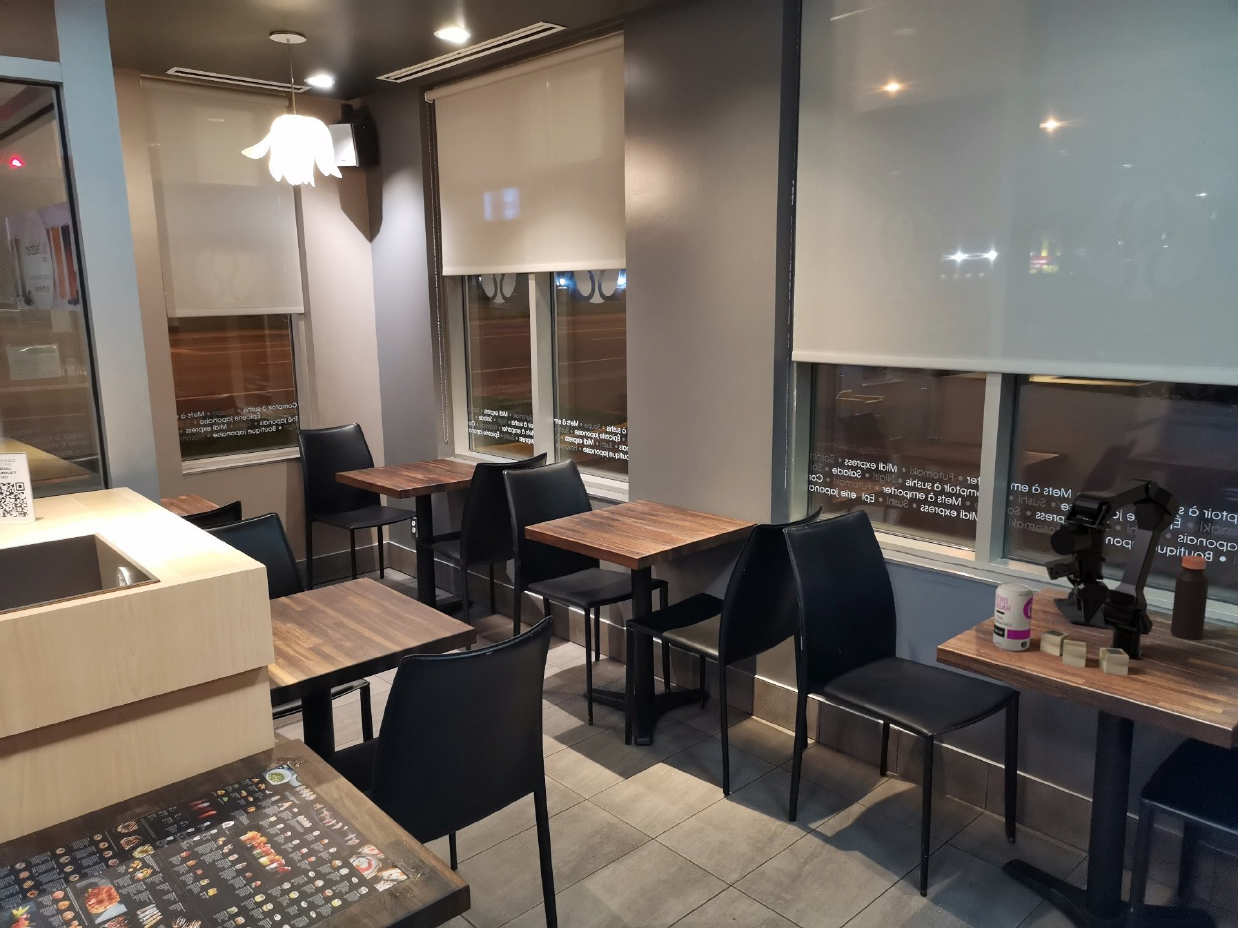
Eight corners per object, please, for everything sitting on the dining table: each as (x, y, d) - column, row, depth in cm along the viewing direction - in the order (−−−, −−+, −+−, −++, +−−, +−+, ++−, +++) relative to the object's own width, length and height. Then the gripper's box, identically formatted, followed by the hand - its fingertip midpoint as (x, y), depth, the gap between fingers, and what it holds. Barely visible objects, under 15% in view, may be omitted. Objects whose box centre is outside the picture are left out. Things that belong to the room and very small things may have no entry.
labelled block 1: (1048, 646, 210) (1050, 627, 210) (1067, 651, 207) (1069, 633, 206) (1040, 650, 208) (1041, 632, 207) (1059, 656, 204) (1060, 637, 203)
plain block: (1062, 657, 203) (1063, 639, 203) (1084, 660, 201) (1085, 642, 201) (1062, 664, 199) (1064, 646, 199) (1084, 667, 197) (1086, 649, 197)
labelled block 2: (1098, 666, 198) (1100, 646, 198) (1119, 667, 197) (1121, 648, 197) (1105, 673, 194) (1107, 654, 193) (1127, 675, 193) (1129, 655, 192)
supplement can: (1033, 645, 211) (1038, 586, 208) (1022, 654, 205) (1026, 594, 203) (999, 637, 216) (1003, 579, 214) (987, 646, 211) (991, 587, 208)
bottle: (1197, 642, 212) (1206, 563, 208) (1166, 634, 217) (1174, 558, 213) (1206, 635, 216) (1214, 558, 213) (1175, 628, 221) (1183, 552, 218)
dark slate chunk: (1057, 625, 225) (1058, 608, 224) (1052, 600, 245) (1054, 584, 244) (1124, 633, 219) (1126, 616, 218) (1114, 607, 239) (1115, 590, 238)
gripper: (1044, 536, 204) (1038, 600, 206) (1055, 556, 186) (1048, 625, 189) (1097, 541, 200) (1091, 605, 202) (1113, 561, 182) (1106, 631, 185)
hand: (1083, 616), depth 195 cm, fingers open, 9 cm apart
